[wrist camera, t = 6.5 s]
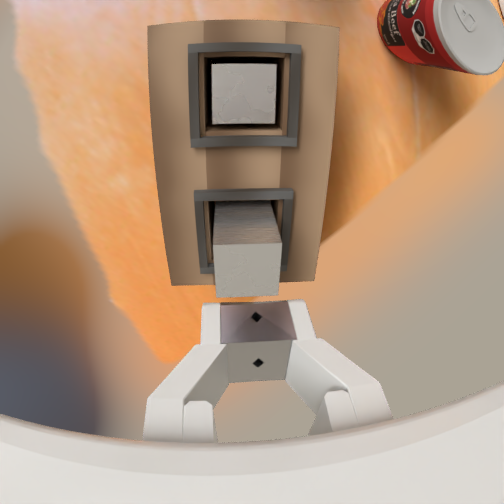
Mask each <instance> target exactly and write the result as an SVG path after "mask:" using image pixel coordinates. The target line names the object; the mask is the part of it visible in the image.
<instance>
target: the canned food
mask: <svg viewBox="0 0 504 504" xmlns="http://www.w3.org/2000/svg"><path fill="white" fill-rule="evenodd" d="M377 25H378V30H379V34H380V36H381V38H382V40H383V42H384V43H385V45H386V46H387V47H388V49H389V50H390V51H391V52H392V53H394V54H395V55H396V56H398V57H399V58H401V59H402V60H404V61H406V62H408V63H411V64H416V65H424V66H430V67H437V68H443V69H449V70H454V71H459V72H464V73H470V74H475V75H489V74H492V73H494V72H496V71H497V70H498V69H499V68H500V67H501V65H502V63H503V61H504V26H503V23H502V20H501V18H500V16H499V14H498V12H497V10H496V9H495V7H494V6H493V4H492V3H491V2H490V1H489V0H387V1H385V2H384V4H383V5H382V7H381V8H380V10H379V13H378V17H377Z"/></svg>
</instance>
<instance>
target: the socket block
mask: <svg viewBox="0 0 504 504" xmlns="http://www.w3.org/2000/svg"><path fill="white" fill-rule="evenodd" d="M339 31H340V28H339V27H332V26H325V25H317V24H308V23H298V22H286V21H270V20H206V21H189V22H178V23H168V24H159V25H151V26H148V74H149V96H150V113H151V127H152V139H153V151H154V161H155V171H156V180H157V189H158V197H159V206H160V213H161V221H162V228H163V235H164V242H165V248H166V255H167V261H168V267H169V273H170V279H171V285H172V286H178V285H216V284H215V269H214V254H213V235H214V218H215V201H232V200H270V203H271V206H272V210H273V213H274V217H275V220H276V223H277V227H278V230H279V234H280V237H281V241H282V253H281V265H280V278H279V282H300V281H314V279H315V272H316V266H317V259H318V253H319V247H320V240H321V233H322V226H323V218H324V211H325V203H326V195H327V187H328V178H329V169H330V160H331V150H332V140H333V129H334V117H335V105H336V91H337V75H338V56H339ZM227 59H256V60H266V64H277V67H276V101H275V124H271V123H232V124H212V87H211V60H227Z"/></svg>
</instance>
